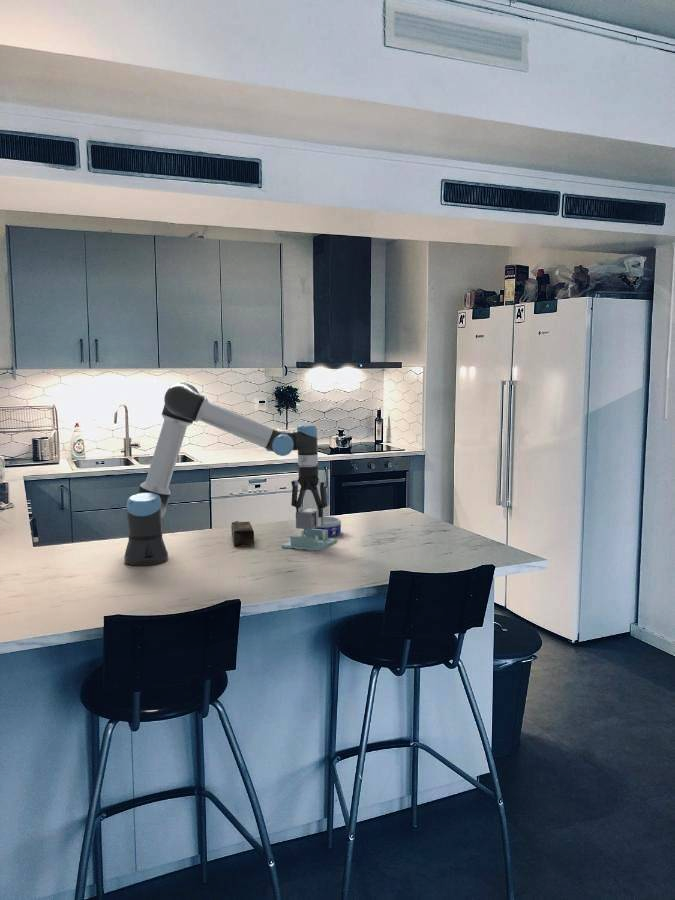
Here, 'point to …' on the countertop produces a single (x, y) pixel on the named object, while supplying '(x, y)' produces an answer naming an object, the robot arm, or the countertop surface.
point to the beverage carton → (242, 533)
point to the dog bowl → (330, 526)
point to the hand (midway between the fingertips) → (309, 525)
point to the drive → (307, 519)
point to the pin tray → (310, 540)
